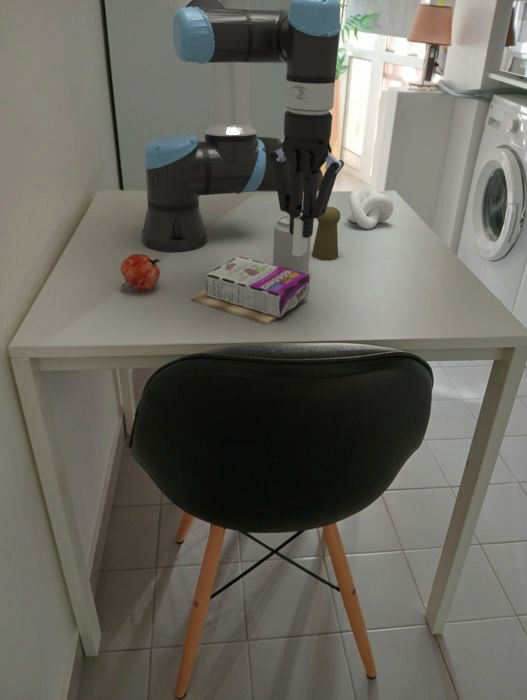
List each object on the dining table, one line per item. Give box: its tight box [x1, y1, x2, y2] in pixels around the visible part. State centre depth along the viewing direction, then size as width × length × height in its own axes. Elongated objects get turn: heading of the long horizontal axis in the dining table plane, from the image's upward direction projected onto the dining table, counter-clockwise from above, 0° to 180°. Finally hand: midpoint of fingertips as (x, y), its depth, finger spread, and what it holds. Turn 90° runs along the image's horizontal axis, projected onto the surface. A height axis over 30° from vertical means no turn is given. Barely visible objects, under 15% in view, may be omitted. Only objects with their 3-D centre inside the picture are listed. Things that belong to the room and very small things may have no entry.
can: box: [272, 214, 312, 274], centre depth 125 cm, size 8×8×12 cm
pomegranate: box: [119, 253, 162, 292], centre depth 118 cm, size 7×7×10 cm
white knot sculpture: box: [347, 186, 394, 230], centre depth 156 cm, size 11×12×9 cm
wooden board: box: [191, 288, 279, 325], centre depth 117 cm, size 17×15×1 cm
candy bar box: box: [205, 255, 311, 319], centre depth 115 cm, size 11×5×16 cm
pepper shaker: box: [311, 206, 341, 261], centre depth 135 cm, size 6×6×11 cm
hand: (299, 253), depth 107 cm, fingers closed
